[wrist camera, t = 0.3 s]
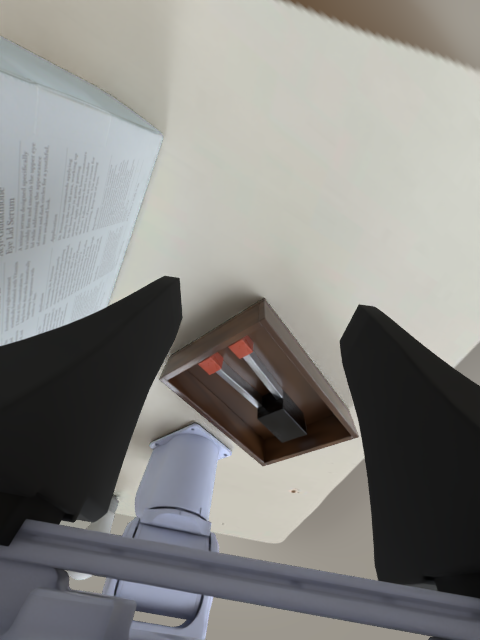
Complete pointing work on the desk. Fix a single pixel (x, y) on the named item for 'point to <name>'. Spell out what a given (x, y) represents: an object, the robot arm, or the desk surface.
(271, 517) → the desk surface
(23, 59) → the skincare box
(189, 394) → the tray
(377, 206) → the desk surface
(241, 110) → the desk surface
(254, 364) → the tongs
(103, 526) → the lightbulb
